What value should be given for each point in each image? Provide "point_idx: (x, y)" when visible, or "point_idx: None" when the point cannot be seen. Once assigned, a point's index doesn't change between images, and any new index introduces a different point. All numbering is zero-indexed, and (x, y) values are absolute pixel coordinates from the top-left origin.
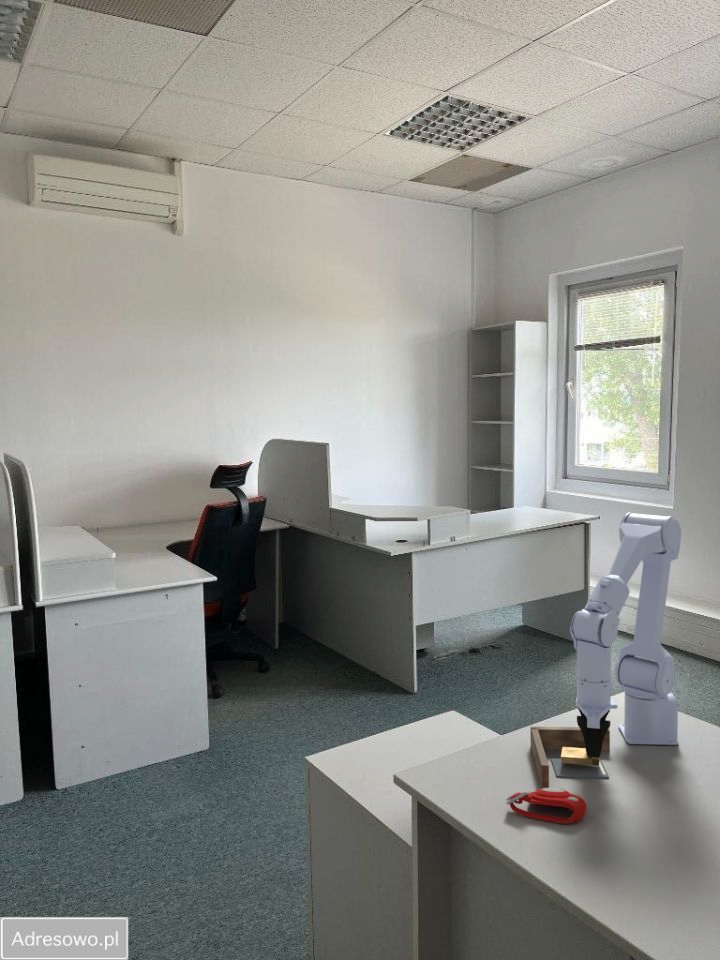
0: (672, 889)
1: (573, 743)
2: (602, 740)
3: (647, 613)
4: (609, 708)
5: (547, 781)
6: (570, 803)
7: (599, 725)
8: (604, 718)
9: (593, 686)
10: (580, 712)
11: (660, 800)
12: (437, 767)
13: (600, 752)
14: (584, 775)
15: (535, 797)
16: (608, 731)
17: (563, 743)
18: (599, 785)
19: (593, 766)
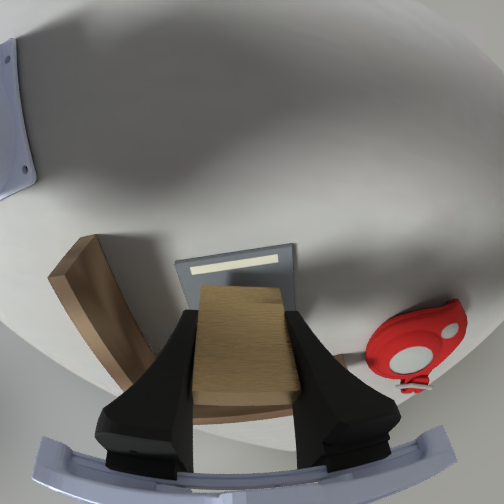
0: None
1: (131, 336)
2: (336, 361)
3: None
4: (333, 493)
5: (344, 366)
6: (465, 332)
7: (446, 435)
8: (179, 399)
9: None
10: (192, 457)
11: (404, 114)
12: (277, 443)
13: (305, 322)
14: (290, 305)
15: (424, 373)
16: (68, 277)
17: (141, 353)
18: (332, 268)
19: (230, 285)
